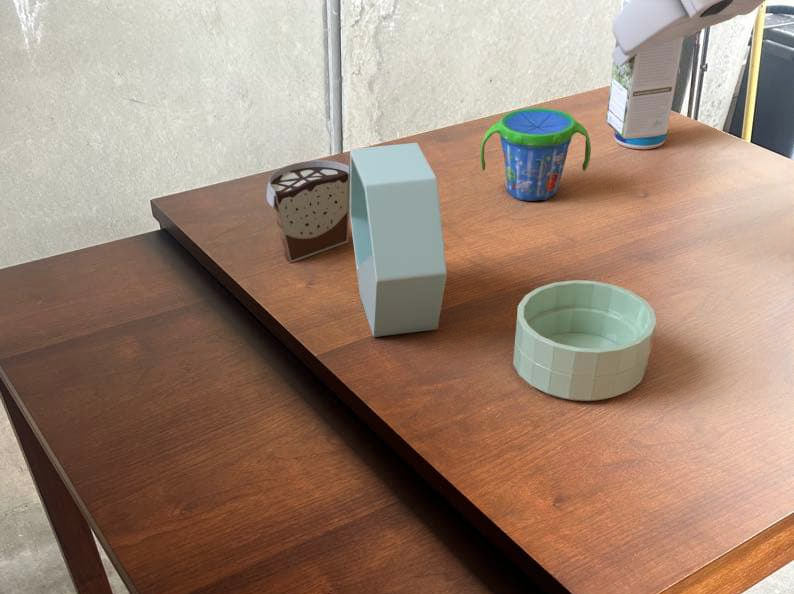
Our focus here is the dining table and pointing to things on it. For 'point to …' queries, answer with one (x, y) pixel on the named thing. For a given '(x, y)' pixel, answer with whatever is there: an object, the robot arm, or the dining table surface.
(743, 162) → the dining table surface
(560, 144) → the snack cup
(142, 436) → the dining table surface
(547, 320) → the bowl
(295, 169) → the food container
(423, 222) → the planter
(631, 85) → the syrup box
